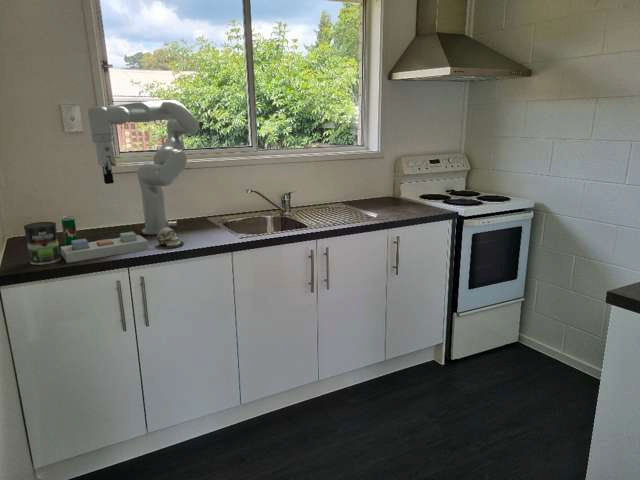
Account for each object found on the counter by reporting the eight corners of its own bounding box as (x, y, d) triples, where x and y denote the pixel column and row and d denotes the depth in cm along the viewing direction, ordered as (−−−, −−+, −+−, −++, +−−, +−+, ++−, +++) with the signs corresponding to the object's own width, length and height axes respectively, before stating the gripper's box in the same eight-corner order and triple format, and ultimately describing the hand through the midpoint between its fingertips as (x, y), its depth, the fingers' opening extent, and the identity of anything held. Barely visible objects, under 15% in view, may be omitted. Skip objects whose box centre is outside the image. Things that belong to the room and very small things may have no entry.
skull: (191, 241, 198) (178, 227, 190) (179, 261, 193) (165, 247, 186) (171, 236, 204) (158, 223, 196) (159, 256, 199) (144, 243, 191)
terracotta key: (111, 248, 189) (109, 238, 188) (114, 250, 185) (113, 241, 184) (98, 250, 186) (96, 240, 185) (100, 253, 182) (99, 243, 181)
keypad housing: (140, 242, 199) (139, 234, 198) (148, 248, 190) (147, 240, 189) (61, 255, 182) (60, 246, 181) (67, 262, 172) (66, 253, 172)
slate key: (86, 248, 183) (85, 238, 182) (89, 251, 180) (87, 241, 178) (72, 250, 180) (71, 240, 179) (75, 253, 177) (73, 243, 176)
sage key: (133, 240, 194) (132, 231, 193) (136, 243, 190) (135, 233, 189) (120, 242, 191) (119, 233, 190) (124, 245, 187) (123, 235, 186)
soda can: (75, 242, 200) (71, 215, 197) (80, 244, 197) (76, 216, 194) (62, 244, 196) (58, 217, 193) (68, 246, 193) (63, 218, 190)
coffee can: (63, 261, 174) (57, 225, 170) (31, 266, 168) (24, 229, 165) (59, 255, 182) (53, 220, 178) (28, 259, 176) (22, 223, 173)
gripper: (117, 138, 184) (123, 184, 189) (107, 136, 195) (113, 180, 200) (97, 140, 179) (104, 186, 185) (87, 138, 191) (95, 182, 196)
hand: (109, 183), depth 192 cm, fingers closed
